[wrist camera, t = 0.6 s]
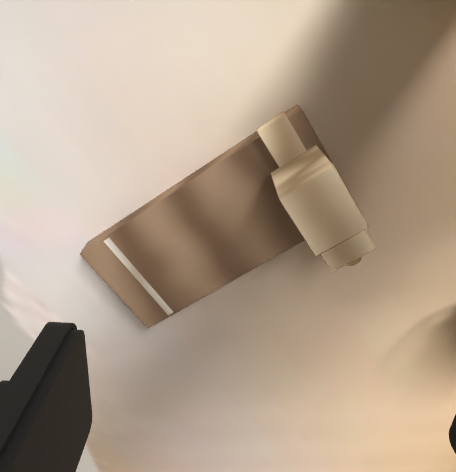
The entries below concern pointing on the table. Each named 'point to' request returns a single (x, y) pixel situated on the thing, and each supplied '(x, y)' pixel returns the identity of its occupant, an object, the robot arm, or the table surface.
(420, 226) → the table surface
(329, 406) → the table surface
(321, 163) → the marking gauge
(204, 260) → the walnut board
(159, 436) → the table surface
